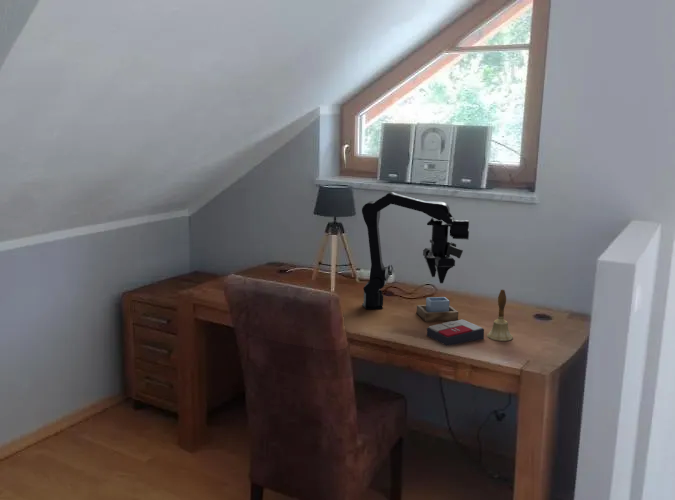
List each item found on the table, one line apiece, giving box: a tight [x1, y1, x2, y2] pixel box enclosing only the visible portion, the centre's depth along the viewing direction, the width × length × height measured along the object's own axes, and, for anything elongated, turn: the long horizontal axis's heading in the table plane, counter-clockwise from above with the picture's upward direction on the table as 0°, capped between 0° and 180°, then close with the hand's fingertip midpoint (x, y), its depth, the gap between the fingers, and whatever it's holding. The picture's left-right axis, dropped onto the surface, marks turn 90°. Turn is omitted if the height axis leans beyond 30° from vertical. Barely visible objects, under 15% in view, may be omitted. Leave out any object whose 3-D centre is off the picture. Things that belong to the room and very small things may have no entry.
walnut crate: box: [416, 304, 459, 323], centre depth 238 cm, size 12×10×3 cm
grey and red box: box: [426, 319, 485, 346], centre depth 217 cm, size 11×4×15 cm
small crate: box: [425, 296, 450, 312], centre depth 238 cm, size 7×5×6 cm
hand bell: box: [486, 289, 514, 342], centre depth 216 cm, size 8×8×16 cm
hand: (437, 280), depth 241 cm, fingers open, 9 cm apart
